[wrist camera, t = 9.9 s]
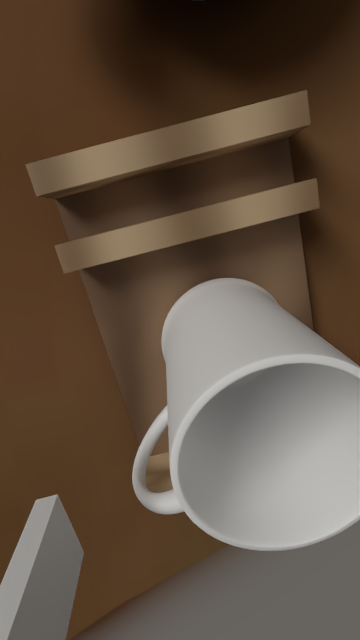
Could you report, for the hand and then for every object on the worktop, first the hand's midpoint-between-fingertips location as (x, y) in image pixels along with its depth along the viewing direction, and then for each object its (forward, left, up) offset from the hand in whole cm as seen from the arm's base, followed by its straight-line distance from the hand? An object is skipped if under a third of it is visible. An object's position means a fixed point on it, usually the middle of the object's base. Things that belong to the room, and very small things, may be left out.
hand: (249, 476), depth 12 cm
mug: (0, 0, -12) cm, 12 cm away
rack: (0, +2, -13) cm, 13 cm away
